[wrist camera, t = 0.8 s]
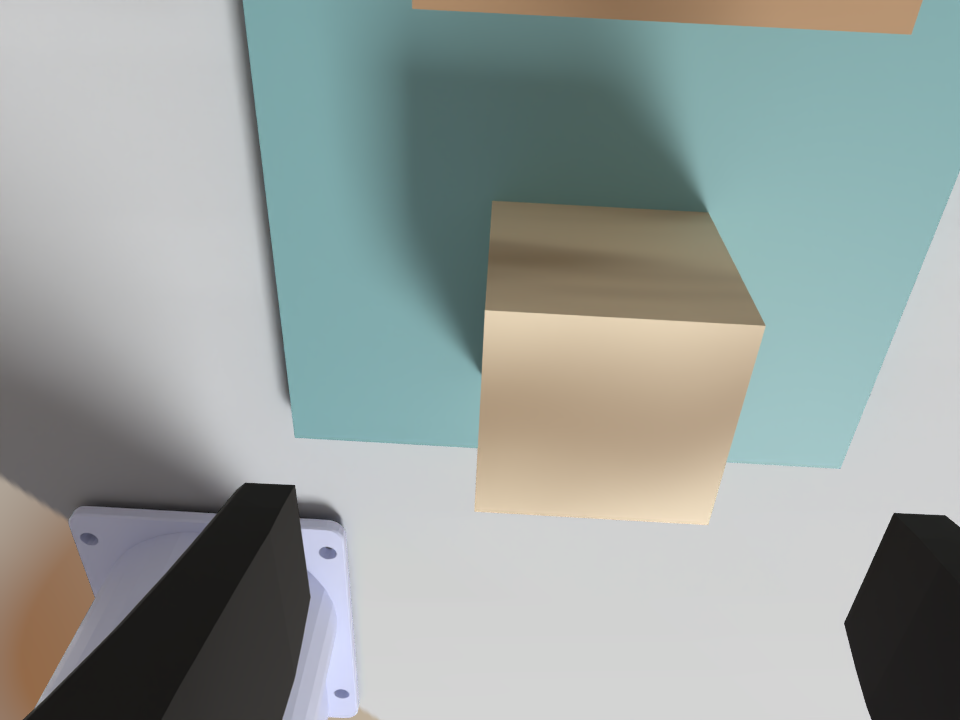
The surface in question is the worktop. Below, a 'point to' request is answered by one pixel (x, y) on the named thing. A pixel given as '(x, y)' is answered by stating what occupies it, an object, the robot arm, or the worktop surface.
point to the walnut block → (714, 12)
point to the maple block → (610, 363)
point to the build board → (591, 192)
